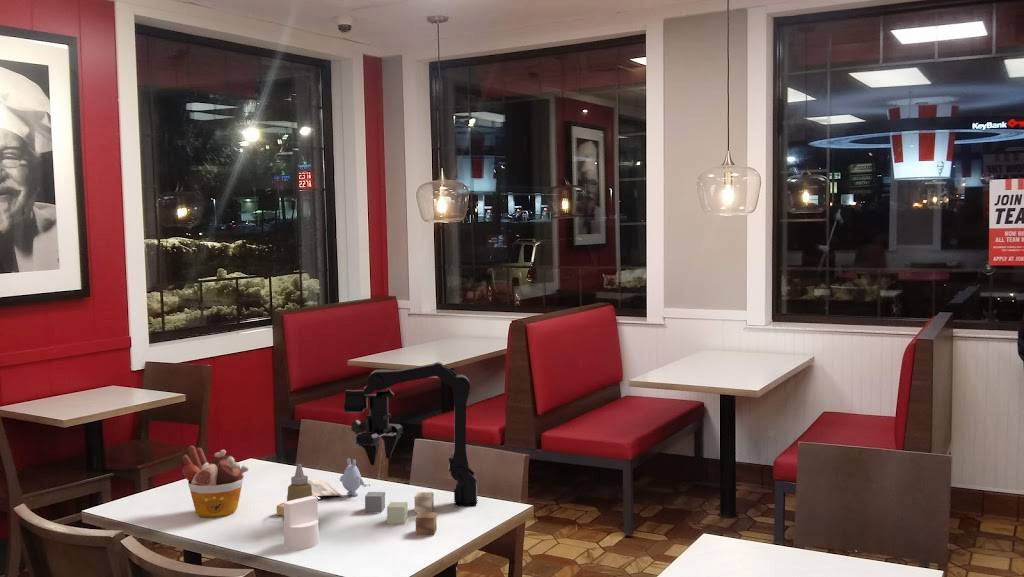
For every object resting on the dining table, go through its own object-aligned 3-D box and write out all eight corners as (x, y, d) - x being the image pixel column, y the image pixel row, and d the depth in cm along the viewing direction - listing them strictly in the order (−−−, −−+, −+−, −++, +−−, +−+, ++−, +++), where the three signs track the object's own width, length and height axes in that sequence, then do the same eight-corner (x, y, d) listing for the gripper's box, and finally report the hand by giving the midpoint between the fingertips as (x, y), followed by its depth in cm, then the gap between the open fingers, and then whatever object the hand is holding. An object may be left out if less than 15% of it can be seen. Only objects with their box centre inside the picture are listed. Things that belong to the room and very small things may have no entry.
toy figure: (371, 495, 287) (370, 458, 286) (357, 500, 282) (356, 462, 281) (347, 490, 293) (346, 454, 292) (333, 495, 288) (332, 458, 287)
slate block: (385, 508, 273) (384, 491, 273) (381, 512, 268) (381, 496, 268) (368, 508, 273) (368, 491, 273) (365, 512, 268) (364, 496, 268)
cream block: (433, 508, 272) (433, 492, 272) (431, 513, 267) (430, 496, 267) (417, 508, 272) (417, 492, 272) (414, 513, 267) (414, 496, 267)
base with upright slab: (307, 536, 246) (306, 493, 246) (325, 544, 240) (324, 499, 239) (277, 544, 240) (277, 500, 239) (295, 552, 233) (294, 506, 233)
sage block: (407, 519, 262) (407, 502, 261) (404, 524, 257) (404, 507, 256) (390, 518, 262) (390, 502, 262) (387, 524, 257) (387, 507, 257)
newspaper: (290, 488, 300) (290, 480, 300) (326, 487, 305) (326, 480, 305) (304, 504, 279) (305, 496, 279) (342, 503, 284) (343, 495, 284)
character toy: (293, 508, 261) (271, 506, 264) (293, 519, 261) (271, 517, 264) (309, 501, 269) (287, 499, 272) (309, 512, 269) (287, 510, 272)
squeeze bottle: (320, 523, 257) (319, 462, 256) (305, 532, 250) (303, 468, 249) (295, 521, 260) (294, 460, 259) (280, 529, 252) (278, 466, 251)
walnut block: (436, 530, 251) (436, 512, 251) (433, 535, 246) (433, 517, 246) (418, 529, 251) (418, 512, 251) (415, 535, 246) (415, 517, 246)
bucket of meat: (259, 508, 273) (258, 444, 272) (222, 524, 258) (220, 455, 257) (209, 502, 281) (207, 439, 281) (169, 516, 266) (167, 450, 265)
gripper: (372, 405, 285) (373, 453, 286) (339, 415, 268) (341, 466, 269) (402, 406, 281) (404, 455, 282) (371, 417, 264) (373, 469, 264)
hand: (380, 461), depth 274 cm, fingers open, 9 cm apart
